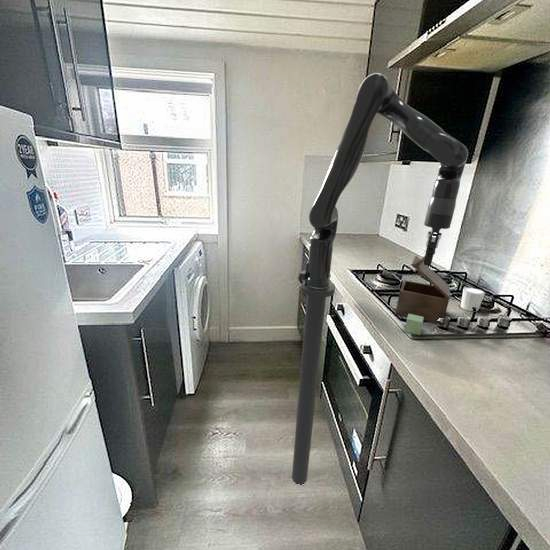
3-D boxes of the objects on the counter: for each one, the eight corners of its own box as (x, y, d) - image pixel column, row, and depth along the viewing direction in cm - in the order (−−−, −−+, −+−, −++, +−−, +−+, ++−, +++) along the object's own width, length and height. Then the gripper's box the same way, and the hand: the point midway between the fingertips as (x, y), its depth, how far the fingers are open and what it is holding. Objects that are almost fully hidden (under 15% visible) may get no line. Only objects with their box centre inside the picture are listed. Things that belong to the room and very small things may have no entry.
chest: (395, 314, 104) (400, 290, 102) (400, 301, 115) (404, 280, 112) (442, 324, 98) (449, 300, 95) (443, 310, 109) (448, 288, 106)
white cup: (473, 304, 115) (477, 287, 113) (484, 312, 109) (489, 294, 107) (455, 303, 116) (459, 286, 113) (465, 311, 109) (470, 293, 107)
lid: (410, 264, 98) (424, 253, 95) (414, 256, 109) (426, 246, 106) (448, 299, 95) (463, 288, 93) (447, 287, 106) (461, 277, 103)
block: (404, 331, 93) (407, 318, 91) (405, 325, 96) (408, 313, 95) (420, 335, 91) (422, 322, 89) (420, 329, 94) (423, 316, 93)
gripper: (428, 208, 103) (416, 256, 109) (426, 212, 91) (413, 265, 97) (452, 211, 100) (440, 260, 106) (454, 215, 88) (439, 270, 94)
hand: (427, 262), depth 101 cm, fingers closed on lid, 5 cm apart
